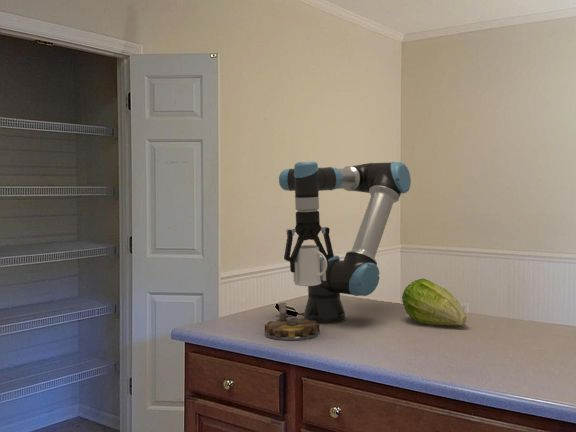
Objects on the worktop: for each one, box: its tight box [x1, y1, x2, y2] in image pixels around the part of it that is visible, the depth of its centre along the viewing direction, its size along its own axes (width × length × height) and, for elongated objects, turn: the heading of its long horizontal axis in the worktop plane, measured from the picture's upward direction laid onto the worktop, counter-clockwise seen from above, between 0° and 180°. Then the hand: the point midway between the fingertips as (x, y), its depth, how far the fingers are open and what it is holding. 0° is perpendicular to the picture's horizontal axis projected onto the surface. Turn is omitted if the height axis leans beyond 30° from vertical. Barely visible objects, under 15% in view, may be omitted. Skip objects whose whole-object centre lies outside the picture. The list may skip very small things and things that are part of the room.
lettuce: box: [401, 278, 468, 326], centre depth 206 cm, size 15×25×16 cm
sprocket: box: [264, 302, 321, 337], centre depth 197 cm, size 18×18×8 cm
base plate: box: [264, 329, 321, 342], centre depth 197 cm, size 19×19×1 cm
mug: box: [294, 244, 327, 287], centre depth 188 cm, size 12×8×12 cm
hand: (309, 281), depth 188 cm, fingers closed on mug, 8 cm apart
